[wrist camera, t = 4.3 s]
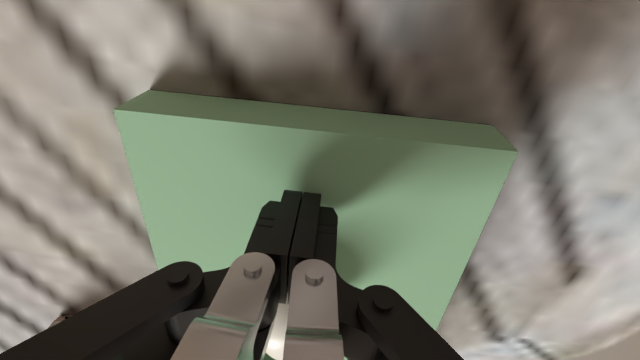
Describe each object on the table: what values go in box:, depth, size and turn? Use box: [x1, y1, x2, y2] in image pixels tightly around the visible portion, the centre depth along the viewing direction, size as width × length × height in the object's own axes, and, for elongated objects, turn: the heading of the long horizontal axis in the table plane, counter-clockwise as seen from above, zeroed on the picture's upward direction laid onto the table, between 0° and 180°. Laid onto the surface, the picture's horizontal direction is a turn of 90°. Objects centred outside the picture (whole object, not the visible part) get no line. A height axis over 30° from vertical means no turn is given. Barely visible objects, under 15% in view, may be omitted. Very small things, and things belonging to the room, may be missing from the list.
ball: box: [266, 294, 289, 360], centre depth 14 cm, size 4×4×4 cm
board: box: [113, 90, 518, 360], centre depth 18 cm, size 21×15×2 cm
